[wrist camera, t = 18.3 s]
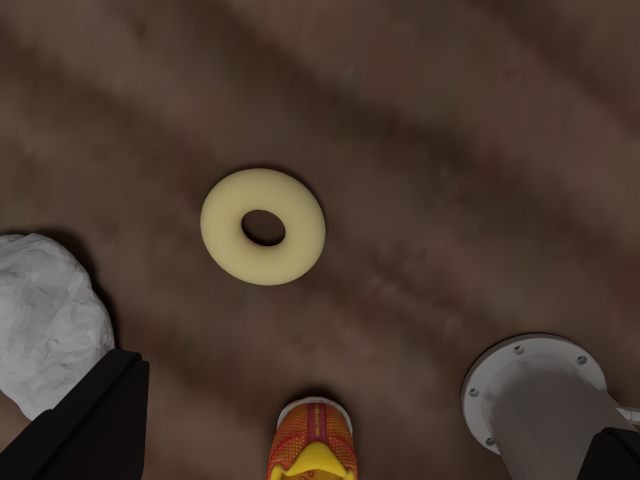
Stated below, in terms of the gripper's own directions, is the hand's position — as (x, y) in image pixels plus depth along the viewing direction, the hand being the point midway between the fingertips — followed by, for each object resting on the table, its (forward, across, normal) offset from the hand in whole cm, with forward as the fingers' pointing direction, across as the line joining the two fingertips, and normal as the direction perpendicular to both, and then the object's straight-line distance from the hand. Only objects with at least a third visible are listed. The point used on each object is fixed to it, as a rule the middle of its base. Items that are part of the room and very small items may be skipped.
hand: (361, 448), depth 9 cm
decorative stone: (+29, +22, +14) cm, 39 cm away
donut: (+29, +6, +3) cm, 30 cm away
